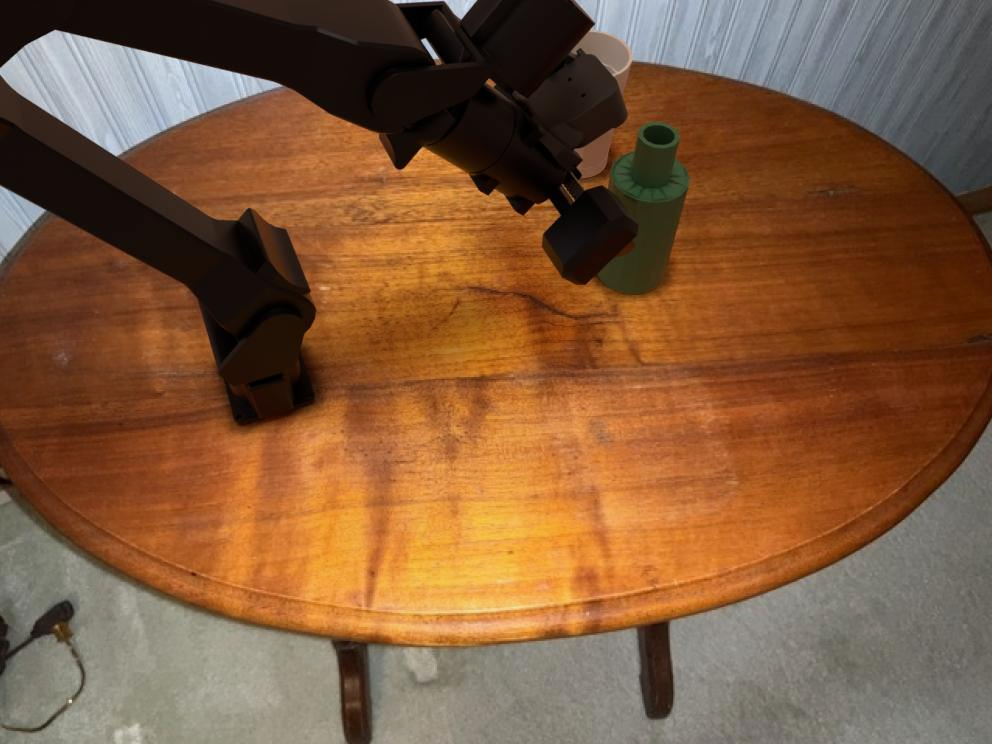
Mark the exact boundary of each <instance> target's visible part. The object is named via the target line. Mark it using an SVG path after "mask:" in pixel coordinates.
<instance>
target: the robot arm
mask: <svg viewBox="0 0 992 744" xmlns="http://www.w3.org/2000/svg"><path fill="white" fill-rule="evenodd" d="M595 25H596V22H595V21H594V20H593V19H592V17H591V16H590V15H589V14H588V13H587V11H585V10H584V8H582V7H581V5H580V4H579V3H578V2H577V1H576V0H476V1H475V2H474V3H473V4H472V6H471V7H470V8H469V9H468V10H467V12H466V13H465V14H464V15H463V17H462V18H460V17H459V16H457V15H456V14H455V13H454V12H453V10H452V8H451V7H450V5H448V3H447V2H446V1H445V0H434V1H433V0H432V1H415V2H413V1H412V2H393V1H391V0H0V69H1V68H2V67H4V66H5V65H6V64H7V63H8V62H9V61H10V60H11V59H12V58H13V57H14V56H15V55H17V54H18V53H19V52H20V51H21V50H22V49H24V47H26V46H27V45H29V44H31V43H33V42H34V41H37V40H39V39H41V38H42V37H44V36H46V35H49V34H51V33H52V32H54V31H58V32H62V33H66V34H70V35H74V36H79V37H83V38H87V39H92V40H95V41H99V42H103V43H104V42H105V43H109V44H113V45H116V46H121V47H124V48H130V49H134V50H138V51H141V52H142V51H143V52H146V53H150V54H155V55H159V56H163V57H168V58H172V59H176V60H179V61H184V62H187V63H189V62H190V63H193V64H197V65H201V66H205V67H209V68H214V69H219V70H222V71H227V72H230V73H235V74H239V75H242V76H247V77H251V78H256V79H260V80H263V81H264V80H265V81H269V82H273V83H275V84H278V85H281V86H283V87H284V88H287V89H290V90H292V91H294V92H296V93H297V94H299V95H300V96H302V97H303V98H305V99H306V100H308V101H309V102H311V103H312V104H313V105H315V106H317V107H318V108H320V109H321V110H322V111H324V112H326V113H327V114H329V115H331V116H333V117H335V118H338V119H341V120H343V121H345V122H347V123H349V124H352V125H355V126H358V127H360V128H363V129H364V130H367V131H369V132H372V133H376V134H378V139H379V141H380V143H381V145H382V146H383V148H384V150H385V152H386V154H387V157H388V158H389V160H390V161H391V163H392V165H393V167H394V168H395V169H396V170H398V171H402V170H404V169H405V168H406V167H407V166H408V165H409V164H410V162H411V161H412V160H413V159H414V157H416V155H418V153H419V151H421V150H422V149H425V150H427V151H429V152H431V153H432V154H434V155H436V156H437V157H439V158H441V159H443V160H444V161H446V162H447V163H449V164H451V165H453V167H456V168H458V169H459V170H461V171H462V172H465V173H466V174H468V176H469V178H470V179H471V180H472V182H473V184H474V186H476V189H477V190H478V191H479V192H480V193H482V194H483V195H486V196H487V197H489V196H490V195H491V194H492V192H494V191H497V192H499V193H500V194H502V195H503V196H504V197H505V198H506V200H507V202H508V203H509V205H510V206H511V207H512V210H513V211H514V212H516V213H517V214H519V215H520V216H522V217H524V216H525V215H526V214H527V213H528V212H529V211H530V210H531V209H532V207H533V206H535V205H541V204H543V203H545V202H548V200H549V201H550V202H551V204H552V205H553V206H554V208H555V209H556V211H557V212H558V214H559V215H560V216H559V217H557V218H556V220H555V221H554V222H553V223H552V224H550V226H548V228H547V229H546V230H544V232H543V233H542V237H541V238H542V239H541V248H542V250H543V251H544V253H545V254H546V256H547V257H548V259H549V260H550V262H551V263H552V265H553V266H554V268H555V270H556V271H557V272H558V274H559V275H560V277H561V279H563V280H565V281H568V282H569V283H572V284H573V285H575V286H587V284H588V283H590V282H591V281H592V280H593V279H594V278H595V277H596V276H598V275H597V274H598V273H599V272H600V271H601V270H602V269H603V268H604V267H605V266H606V265H607V264H608V263H609V262H610V261H611V260H612V259H613V258H615V257H620V256H624V255H627V254H628V253H630V252H631V251H632V250H633V249H634V248H635V246H636V245H635V244H634V242H633V241H632V240H633V239H634V238H635V237H636V236H637V234H638V228H639V224H638V222H637V221H636V220H635V218H634V217H633V216H632V215H631V213H630V212H629V211H628V209H627V208H626V207H625V206H624V204H623V203H622V202H621V201H620V199H619V198H618V197H617V195H614V194H613V193H612V192H611V191H610V190H609V189H608V187H607V186H605V185H604V184H601V185H597V186H593V187H591V188H587V189H585V188H584V186H582V184H581V183H580V180H581V179H582V178H581V177H582V174H581V172H580V171H579V170H578V168H577V166H578V165H579V164H580V163H581V162H582V161H583V159H582V158H581V156H580V155H579V154H578V153H577V152H576V151H575V149H579V148H583V147H585V146H586V145H588V144H590V143H591V142H593V141H594V140H596V139H597V138H599V137H600V136H602V135H603V134H605V133H606V132H608V131H609V130H611V129H612V128H615V129H617V128H619V127H620V126H622V125H623V124H624V123H625V122H626V121H627V120H628V117H629V112H628V108H627V106H626V102H625V100H624V96H623V97H622V94H621V91H620V88H619V85H618V82H617V80H616V79H615V77H614V76H613V75H612V74H611V73H610V72H609V71H608V69H607V68H606V67H605V66H604V65H603V64H602V63H601V62H600V60H599V59H598V58H597V57H596V56H595V55H592V54H586V53H585V52H584V51H583V50H582V49H581V48H579V49H578V50H576V52H577V55H576V54H573V53H572V52H571V51H572V50H573V49H574V47H575V46H576V45H577V44H578V43H579V42H580V41H581V40H582V38H583V37H584V36H585V35H586V34H587V33H588V32H589V31H590V30H592V28H594V26H595ZM423 40H426V42H427V43H428V45H429V46H430V47H431V49H432V51H433V52H434V53H435V55H436V56H437V58H438V59H439V61H440V63H441V64H437V63H436V61H435V59H434V58H433V56H432V55H431V53H430V52H429V50H428V49H427V47H426V45H425V44H424V42H423ZM488 80H490V81H492V82H493V83H494V84H495V85H494V86H492V85H490V83H488ZM580 178H581V179H580ZM0 187H2V188H4V189H5V190H7V191H9V192H11V193H12V194H14V195H16V196H18V197H20V198H22V199H24V200H25V201H27V202H29V203H32V205H35V206H37V207H39V208H41V209H43V210H44V211H46V212H48V213H50V214H51V215H53V216H55V217H57V218H59V219H61V220H63V221H64V222H67V223H69V224H70V225H72V226H73V227H76V228H78V229H80V230H81V231H83V232H85V233H87V234H89V235H91V236H93V237H94V238H96V239H98V240H100V241H102V242H103V243H106V244H108V245H109V246H111V247H114V249H117V250H118V251H121V252H122V253H124V254H126V255H128V256H130V257H132V258H134V259H136V260H137V261H140V262H141V263H143V264H145V265H147V266H148V267H151V268H152V269H154V270H156V271H157V272H160V273H161V274H163V275H165V276H167V277H169V278H171V279H173V280H175V281H177V282H178V283H180V284H182V285H183V286H185V287H186V288H187V289H188V290H189V291H190V292H191V293H192V294H193V295H194V296H195V298H196V299H197V303H198V307H199V310H200V313H201V317H202V320H203V324H204V327H205V330H206V335H207V339H208V341H209V345H210V349H211V353H212V355H213V359H214V362H215V365H216V369H217V372H218V375H219V377H221V378H222V379H223V382H224V386H225V391H226V394H227V398H228V402H229V405H230V409H231V415H232V417H233V420H234V423H235V424H236V425H238V426H242V425H246V424H250V423H253V422H255V421H259V420H263V419H267V418H271V417H275V416H277V415H281V414H284V413H286V412H290V411H292V410H295V409H298V408H302V407H305V406H308V405H311V404H313V403H315V401H316V398H317V397H316V394H315V391H314V388H313V385H312V382H311V379H310V375H309V373H308V369H307V367H306V364H305V361H304V358H303V354H302V352H301V348H302V344H303V340H304V336H305V334H306V333H307V332H308V331H309V330H310V329H311V328H312V326H313V324H314V322H315V320H316V315H317V312H318V311H317V307H316V305H315V303H314V300H313V298H312V295H311V292H312V290H311V286H310V285H309V282H308V279H307V277H306V275H305V272H304V269H303V266H302V265H301V263H300V259H299V257H298V255H297V252H296V249H295V247H294V244H293V242H292V239H291V237H290V235H289V232H288V230H287V228H282V227H278V226H275V225H273V224H272V223H269V222H268V221H266V220H265V218H263V216H262V215H260V214H259V212H258V211H256V210H255V209H254V208H252V207H247V208H246V209H245V211H244V212H243V213H242V214H241V216H240V217H239V218H238V219H216V218H214V217H212V216H210V215H208V214H207V213H205V212H204V211H202V210H200V209H198V208H197V207H196V206H194V205H193V204H191V203H190V202H188V201H187V200H185V199H183V198H182V197H180V196H178V195H177V194H175V193H174V192H173V191H171V190H169V189H167V188H166V187H165V186H163V185H161V184H160V183H158V182H157V181H155V180H154V179H152V178H150V177H149V176H148V175H146V174H145V173H143V172H141V171H140V170H138V169H136V168H135V167H134V166H132V165H131V164H129V163H127V162H126V161H124V160H123V159H121V158H120V157H118V156H117V155H115V154H113V152H110V151H109V150H108V149H106V148H104V147H103V146H101V145H99V144H98V143H96V142H95V141H93V140H92V139H90V138H89V137H87V136H86V135H84V134H83V133H81V132H79V131H77V130H76V129H74V128H73V127H72V126H70V125H68V124H67V123H65V122H64V121H62V120H61V119H60V118H58V117H56V116H55V115H54V114H51V113H50V112H48V111H47V110H45V109H44V108H42V107H41V106H39V105H37V104H36V103H35V102H33V101H32V100H30V99H28V98H26V97H25V96H24V95H22V94H20V93H19V92H18V91H17V90H15V89H14V88H13V86H11V85H10V84H9V83H8V82H7V81H6V79H4V77H2V75H1V74H0ZM308 397H309V398H308Z"/></svg>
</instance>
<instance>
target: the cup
mask: <svg viewBox="0 0 992 744" xmlns="http://www.w3.org/2000/svg"><path fill="white" fill-rule="evenodd" d="M579 48H581V49H582V50H583V51H584V52H585V53H586V54H592V55H595V56H596V57H597V58H598V59H599V60H600V62H601V63H602V64H603V65H604V66H605V67H606V68H607V69H608V71H609V72H610V73H611V74H612V75H613V76H614V77H615V79H616V80H617V82H618V85H619V88H620V91H621V94H622V97H623V98H624V92H625V90H626V89H625V88H626V86H627V85H626V84H627V81H628V78H629V74H630V70H631V66H632V64H633V60H634V59H633V57H634V56H633V51H632V49H631V48H630V46H629V45H628V43H626V42H625V41H624V40H622V39H621V38H619V37H618V36H616V35H614V34H611V33H608V32H605V31H601V30H598V29H597V30H596V29H590V31H589V32H588V33H587V34H586V35H585V36H584V37H583V38H582V40H581V41H580V42H579V43H578V44H577V45H576V46H575V47H574V49H573V50H572V51H571V52H572V53H573V54H576V55H577V52H576V50H578V49H579ZM615 129H616V128H612V129H611V130H609V131H608V132H606V133H605V134H603V135H602V136H600V137H599V138H597V139H596V140H594V141H593V142H591V143H590V144H588V145H586V146H585V147H583V148H579V149H575V151H576V152H577V153H578V154H579V155H580V156H581V158H582V159H583V161H582V162H581V163H580V164H579V165H578V166H577V168H578V170H579V171H580V172H581V174H582V177H581V178H580V179H579V180H581V179H588V178H592V177H594V176H597V175H599V174H600V173H602V172H603V171H604V169H605V168H606V167H607V163H608V159H609V151H610V149H611V145H612V140H613V136H614V132H615Z"/></svg>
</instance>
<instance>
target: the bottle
mask: <svg viewBox="0 0 992 744" xmlns="http://www.w3.org/2000/svg"><path fill="white" fill-rule="evenodd" d="M679 144H680V132H679V131H678V130H677V129H676V128H675V126H673V125H670V124H668V123H666V122H661V121H660V122H659V121H651V122H647V123H644V124H643V125H641V127H639V129H638V130H637V134H636V140H635V146H634V150H632V151H630V152H626V153H624V154H622V155H620V156H619V157H617V159H616V160H615V161H614V162H613V163H612V164H611V168H610V172H609V179H608V184H607V189H609V190H610V191H611V192H612V193H613V194H614V195H617V197H618V198H619V199H620V201H621V202H622V203H623V204H624V206H625V207H626V208H627V209H628V211H629V212H630V213H631V215H632V216H633V217H634V218H635V220H636V221H637V222H638V224H639V228H638V234H637V236H636V237H635V238H634V239H633V240H632V241H633V242H634V244H635V245H636V246H635V248H634V249H633V250H632V251H631V252H630V253H628V254H627V255H624V256H620V257H615V258H613V259H612V260H611V261H610V262H609V263H608V264H607V265H606V266H605V267H604V268H603V269H602V270H601V271H600V272H599V273H598V274H597V275H596V276H598V277H597V278H599V280H600V281H601V282H602V283H603V284H604V285H605V286H606V287H608V288H609V289H611V290H613V291H615V292H618V293H621V294H626V295H641V294H642V295H643V294H646V293H649V292H651V291H653V290H656V288H658V287H659V286H660V285H661V284H662V282H663V281H664V279H665V276H666V272H667V269H668V265H669V262H670V259H671V258H670V257H671V254H672V250H673V247H674V243H675V240H676V235H677V231H678V228H679V224H680V221H681V217H682V214H683V209H684V205H685V201H686V198H687V194H688V191H689V187H690V180H691V176H690V174H689V172H688V170H687V168H686V166H685V165H684V164H683V163H682V162H680V160H678V159H677V158H676V157H677V152H678V149H679Z"/></svg>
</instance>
